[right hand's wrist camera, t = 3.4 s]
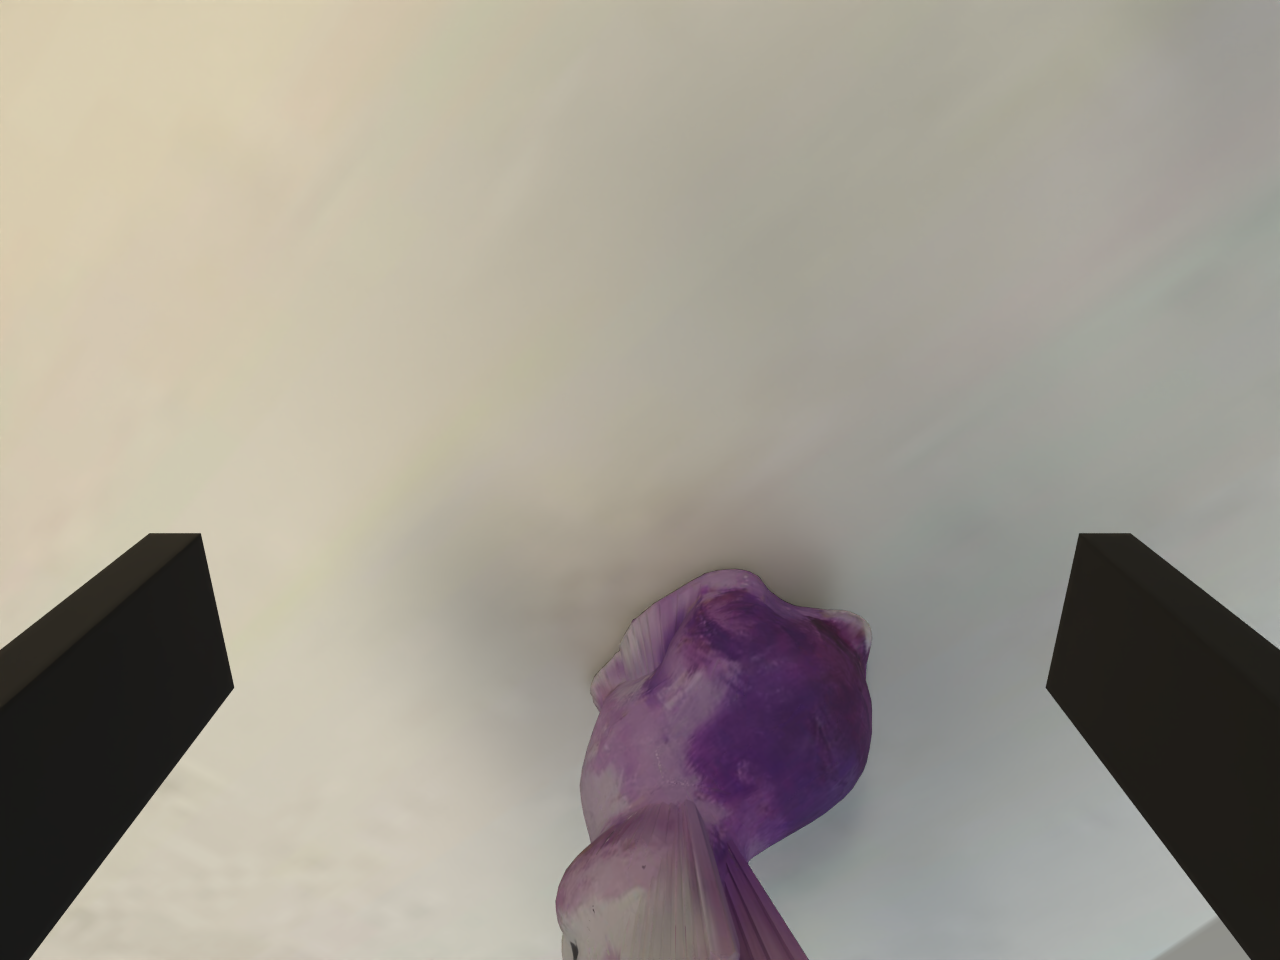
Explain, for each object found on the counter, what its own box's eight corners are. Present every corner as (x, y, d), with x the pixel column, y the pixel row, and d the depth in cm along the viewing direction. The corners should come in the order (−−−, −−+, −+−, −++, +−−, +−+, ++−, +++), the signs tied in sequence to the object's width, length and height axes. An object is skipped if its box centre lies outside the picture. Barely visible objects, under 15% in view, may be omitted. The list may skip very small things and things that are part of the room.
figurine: (561, 756, 33) (504, 1193, 19) (622, 534, 30) (607, 875, 16) (784, 802, 34) (884, 1252, 20) (871, 592, 30) (1065, 964, 17)
